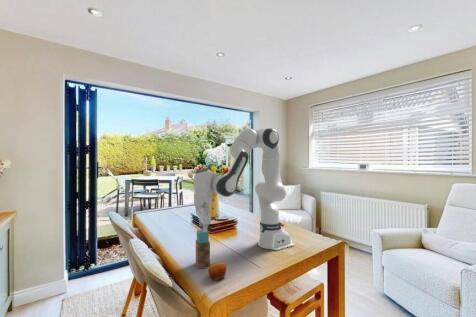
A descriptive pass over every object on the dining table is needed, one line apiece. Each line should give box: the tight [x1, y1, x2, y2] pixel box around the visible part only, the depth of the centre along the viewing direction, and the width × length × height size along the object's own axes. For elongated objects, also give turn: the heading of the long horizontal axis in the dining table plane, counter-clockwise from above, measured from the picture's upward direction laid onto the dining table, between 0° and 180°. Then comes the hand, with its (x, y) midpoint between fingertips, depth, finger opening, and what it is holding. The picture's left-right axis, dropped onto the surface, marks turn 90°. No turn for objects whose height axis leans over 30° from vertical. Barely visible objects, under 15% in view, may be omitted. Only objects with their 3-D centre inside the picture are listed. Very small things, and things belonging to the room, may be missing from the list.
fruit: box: [208, 261, 227, 282], centre depth 103 cm, size 8×8×8 cm
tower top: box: [195, 239, 211, 256], centre depth 115 cm, size 6×6×6 cm
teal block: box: [196, 229, 210, 244], centre depth 115 cm, size 5×5×5 cm
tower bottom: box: [195, 252, 211, 270], centre depth 115 cm, size 6×6×6 cm
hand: (203, 228), depth 115 cm, fingers open, 8 cm apart
